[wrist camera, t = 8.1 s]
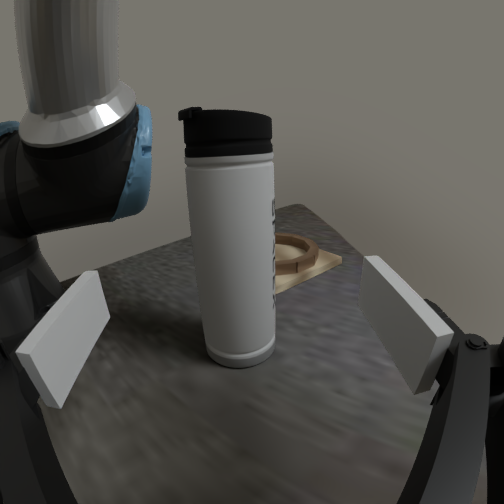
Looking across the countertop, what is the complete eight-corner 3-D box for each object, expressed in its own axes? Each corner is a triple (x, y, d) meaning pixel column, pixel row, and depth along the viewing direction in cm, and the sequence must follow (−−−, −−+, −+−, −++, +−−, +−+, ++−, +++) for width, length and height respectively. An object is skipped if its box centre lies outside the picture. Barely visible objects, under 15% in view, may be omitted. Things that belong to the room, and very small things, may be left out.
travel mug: (191, 343, 27) (163, 114, 20) (247, 319, 31) (237, 112, 23) (228, 382, 22) (204, 101, 15) (289, 348, 26) (290, 105, 19)
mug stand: (269, 297, 35) (269, 278, 34) (207, 261, 45) (206, 246, 44) (341, 263, 43) (342, 247, 42) (276, 239, 53) (276, 226, 52)
